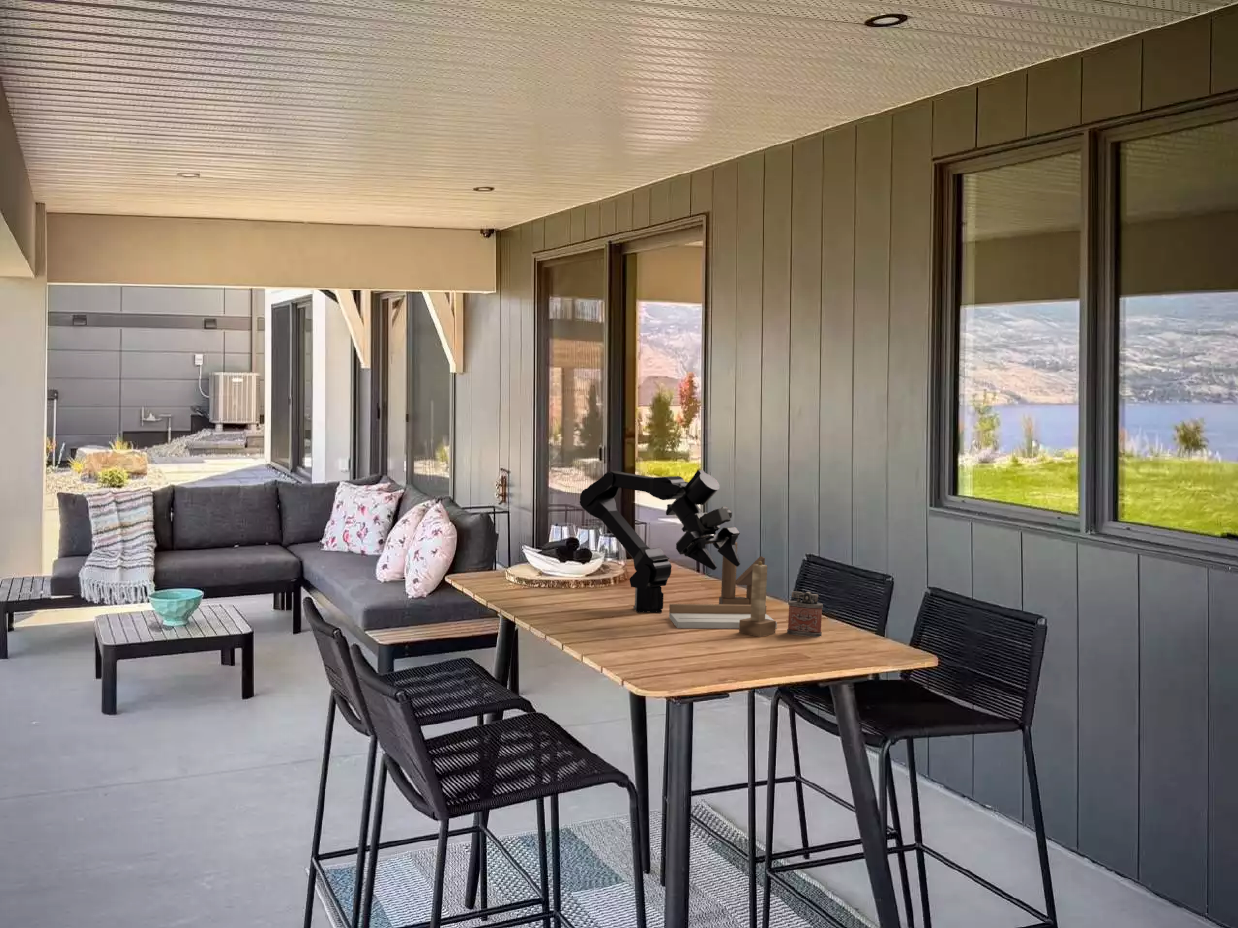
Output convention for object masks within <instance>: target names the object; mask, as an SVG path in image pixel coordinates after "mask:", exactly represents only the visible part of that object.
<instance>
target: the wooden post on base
mask: <svg viewBox="0 0 1238 928" xmlns="http://www.w3.org/2000/svg"><path fill="white" fill-rule="evenodd" d="M767 576H768V565H767V564H765V565H762V562H761V561H759V562H758V564H756V565H753V573H752V597H751V618H747V619H742V620H740V624H739V629H738V633H739V634H743V635H748V636H749V635H750V636H754V637H758V638H761V637H766V636H771V635H775V634H776V630H777V629H776V622H777V621H776V620H775V619H773V620H768V619H765V609H766V610H767V607H766V606H767V601H766V600H767V581H768V577H767Z"/></svg>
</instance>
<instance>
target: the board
mask: <svg viewBox="0 0 1238 928" xmlns="http://www.w3.org/2000/svg"><path fill="white" fill-rule="evenodd" d="M668 609H669V611H668V619H669V620H670V621H671V622H672V623H673V624H674V626H675V627H676V628H677V629H738V630H739V624H740V620H742V619H747V618H751V605H732V604H719V603H718V604H713V603H710V604H709V603H697V604H696V603H669V607H668ZM765 619H768V620H774V619H773V618H772V617H771V616H770V615H768V614H767V605H766V609H765ZM777 629H778V622H777V621H776V629H775V630H777Z"/></svg>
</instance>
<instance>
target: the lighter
mask: <svg viewBox="0 0 1238 928" xmlns="http://www.w3.org/2000/svg"><path fill="white" fill-rule="evenodd" d="M791 598H796V600H788V603H787V604H788V620H787V630H786V634H788V635H792V636H794V635H795V636H801V637H810V636H813V638H820V637H819V636H821V637H822V618H823V616H822V615H823V614H822V613H823V608H824V605H823V603H820V602H818V601H819V594H817V593H816V594H815V593H811V591H806V592H805V593H804V592H802V591H794V590H793V591H792V592H791ZM801 599H802V600H801Z"/></svg>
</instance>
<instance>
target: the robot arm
mask: <svg viewBox="0 0 1238 928" xmlns="http://www.w3.org/2000/svg"><path fill="white" fill-rule="evenodd" d="M621 489H626V490H631V491H638V492H642V493H643V492H644V493H647V494H649V495H650V496H651V497H654V498H657V499H659V500H661V501H668V500H669V501H670V500H674V501H673V502H672V503H668V504H667V505H666V509H665V510H666V511H665V516H676V517H677V519H678V520H679V521H680V524H682V526H683V527H682V528H681V530H682V532H683V533H684V534H683V535H682V536H681V537H680V538H679V539H678V540H677V541H676V543H675V544H676V545H675V549H676V551H677V552H678V554H679V555H681V556H682V555H683V556H684V557H688V558H689V559H692V560H693V561H696V562H697V563H700V564H702V565H703V566H705V567H706V568H708V569H711V570H712V571H715V570H716V569H717V568H718V567H717V564H716V562H715V561H714V559H713V557H712V555H711V554H710V552H709V551H708V549H707V545H711V544H712V545H713V547H714V548H716V549H717V553H718V554H720V555H721V556H722V557H723V556H724V557H725V558H726V559H727V560H729V561H730V562H731V563H732V564H734V565H735V566H736V568H738V567H740V565H741V562H740V558H739V553H738V550H737V551H736V547H735V542H737V540H738V539H739V536H740V531H739V530H738V528H737V527H736V526H725V527H722V529H721V526H720V525H722V524H725V523H729V522H731V519H732V516H733V512H732V511H731V510H730V508H728V507H727V506H721V508H719V507H718V508H717V509H716V508H715V509H713V510H711V511H709V512H703V511H702V509H701V508H700V506H699V505H701V506H704V505H706V504H707V503H708V502H709V501H710V499H711V498H712V497H713V496H714V495H716V493H717V492H718V491H719V489H720V483H719V482H718V480H717V479H716V478H714V476H712V475H710V474H708V473H706V472H705V471H704V469H699V470H697V471H696V472H695V473H694V475H693V476H692V477H691V479H690V480H689V481H685V480H684V477H682V476H680V475H675V476H674V475H672V476H656V477H654V476H647V475H643V474H642V475H640V474H635V473H629V472H623V471H620V470H612V471H607V472H606V473H604V474H603V475H602V476H601V477H600V478H599V479H597V480H596V481H594V482H592V483H591V484H590V485H589V486H588V487H586V488H585V489H583V490H582V491H581V493H580V497H579V505H580V506H581V508H582V509H583V510H584V511H586V513H588V514H589V515H590V516H592V517H594V518H596V519H598V520H600V521H601V522H602V523H603V525H605V527H606V528H607V529H608V531H610V533H611V534H612V535H613V536H614V537H615V538H616V540H617V541H618V543H619V544H620V545H622V548H624V549H625V551H626V552H627V554H629V556H630V557H631V558H632V560H633V561H632V562H633V566H634V570H635V572H634V573H633V575H631V576H630V578H629V579H628V580H629V583H630V587H631V588H634V605H633V609H634V611H635V612H636V613H663V609H664V592H663V591H662V587H665V586H666V585H667V583H668V580H669V578H670V576H671V575H672V563H671V562H670V557H668V556H667V555H665V553H664V551H663V550H662V549H661V548H660V547H655V548H651V547H649V546H648V545H647V544H646V542H644V540H643V539H642V538H641V536H640V535H639V534H638V533H637V532H636V531H635V529H633V527H632V526H631V525H630V524H629V522H628V521H627V520H626V519H625V517H624V516H623V515H622V514H621V513H620V512H619V511H618V509H617V504H616V500H615V498H616V497H617V496H618V495H619V492H620V490H621ZM720 529H721V530H720ZM719 530H720V531H719ZM717 531H718V533H717V534H716V532H717Z"/></svg>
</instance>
